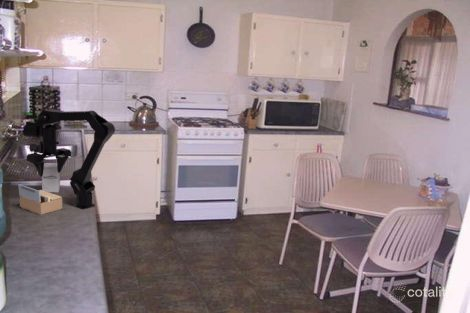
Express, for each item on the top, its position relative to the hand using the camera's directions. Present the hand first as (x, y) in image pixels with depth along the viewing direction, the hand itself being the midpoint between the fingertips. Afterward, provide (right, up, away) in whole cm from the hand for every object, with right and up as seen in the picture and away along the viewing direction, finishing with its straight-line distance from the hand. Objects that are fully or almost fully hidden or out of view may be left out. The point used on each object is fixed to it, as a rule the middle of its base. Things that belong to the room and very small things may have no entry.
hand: (50, 174), depth 190 cm
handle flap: (-3, -7, -12) cm, 14 cm away
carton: (-1, -14, -6) cm, 15 cm away
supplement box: (-7, -8, +18) cm, 21 cm away
